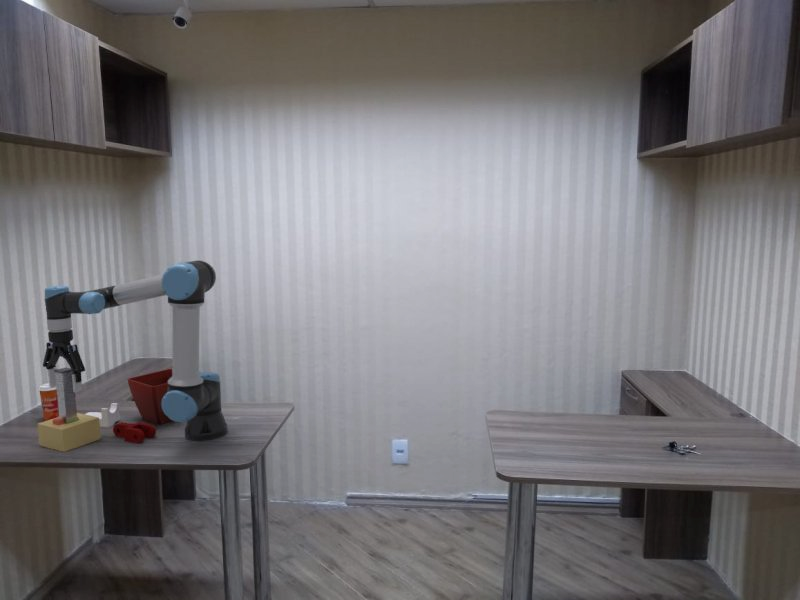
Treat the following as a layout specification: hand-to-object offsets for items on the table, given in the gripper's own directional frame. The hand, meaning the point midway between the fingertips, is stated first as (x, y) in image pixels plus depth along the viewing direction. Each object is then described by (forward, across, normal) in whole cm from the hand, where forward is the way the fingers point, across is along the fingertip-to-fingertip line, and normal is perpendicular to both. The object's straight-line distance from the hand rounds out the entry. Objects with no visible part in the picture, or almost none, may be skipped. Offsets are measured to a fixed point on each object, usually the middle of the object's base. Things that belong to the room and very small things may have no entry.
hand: (65, 388), depth 214 cm
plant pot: (+20, -9, -34) cm, 40 cm away
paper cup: (+20, +31, -13) cm, 39 cm away
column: (+14, 0, 0) cm, 14 cm away
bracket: (+20, +8, -18) cm, 28 cm away
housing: (+20, 0, 0) cm, 20 cm away
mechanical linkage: (+20, -17, -13) cm, 29 cm away
